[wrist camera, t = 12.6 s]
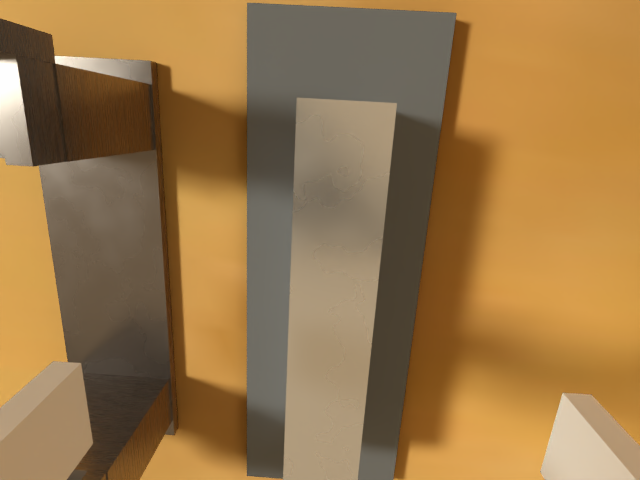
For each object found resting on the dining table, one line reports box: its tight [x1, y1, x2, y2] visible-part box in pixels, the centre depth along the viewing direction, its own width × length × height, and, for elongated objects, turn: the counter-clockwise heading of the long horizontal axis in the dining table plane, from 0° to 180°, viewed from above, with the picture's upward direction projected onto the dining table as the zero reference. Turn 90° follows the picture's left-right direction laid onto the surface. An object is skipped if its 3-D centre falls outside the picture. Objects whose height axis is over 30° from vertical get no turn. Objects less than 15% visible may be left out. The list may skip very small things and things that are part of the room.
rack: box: [0, 19, 178, 480], centre depth 17 cm, size 21×6×10 cm, turn 177°
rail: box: [283, 98, 397, 480], centre depth 18 cm, size 18×4×4 cm, turn 177°
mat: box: [247, 3, 456, 480], centre depth 21 cm, size 26×9×1 cm, turn 177°
